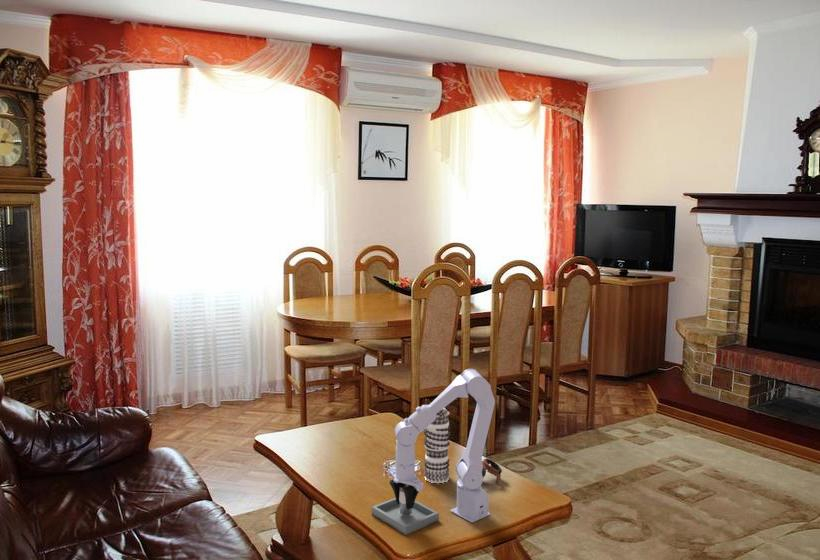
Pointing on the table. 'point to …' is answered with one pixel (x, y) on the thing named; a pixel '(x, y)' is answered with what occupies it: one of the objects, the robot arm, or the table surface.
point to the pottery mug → (491, 469)
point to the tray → (405, 516)
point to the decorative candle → (437, 449)
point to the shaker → (403, 501)
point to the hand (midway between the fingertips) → (404, 505)
